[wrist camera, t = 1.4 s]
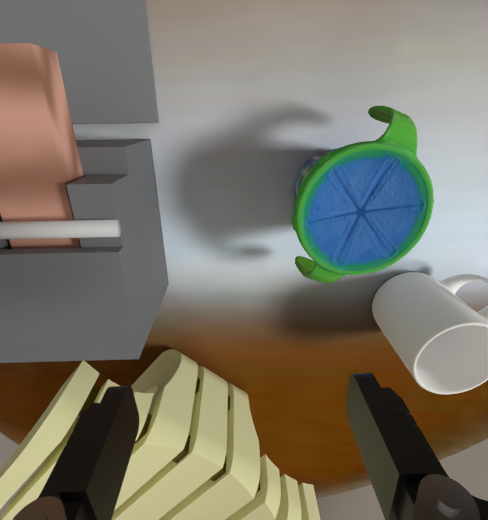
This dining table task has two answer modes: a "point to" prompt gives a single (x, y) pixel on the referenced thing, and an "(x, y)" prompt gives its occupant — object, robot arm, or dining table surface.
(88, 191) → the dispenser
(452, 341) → the mug
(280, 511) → the slatted curved stool
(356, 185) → the snack cup
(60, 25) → the mat
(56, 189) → the copper bar
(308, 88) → the dining table surface
